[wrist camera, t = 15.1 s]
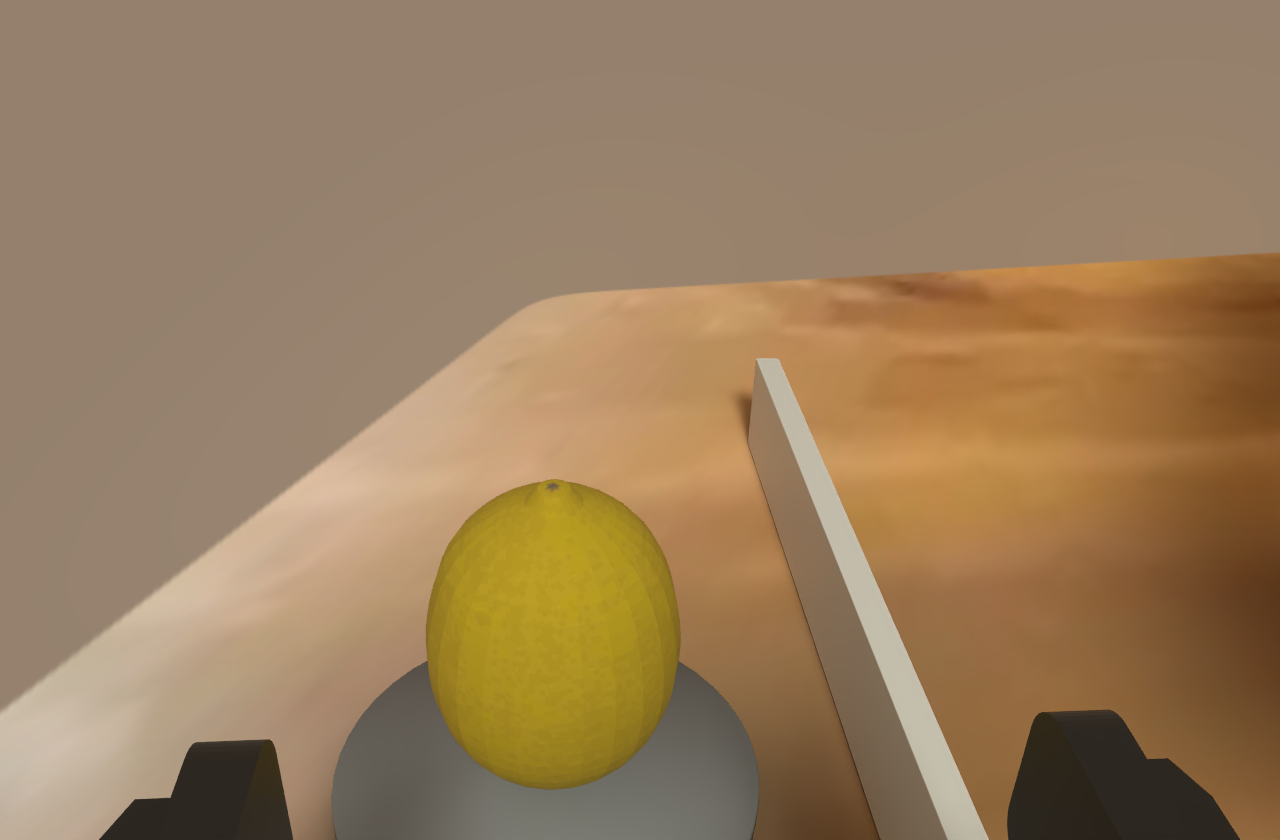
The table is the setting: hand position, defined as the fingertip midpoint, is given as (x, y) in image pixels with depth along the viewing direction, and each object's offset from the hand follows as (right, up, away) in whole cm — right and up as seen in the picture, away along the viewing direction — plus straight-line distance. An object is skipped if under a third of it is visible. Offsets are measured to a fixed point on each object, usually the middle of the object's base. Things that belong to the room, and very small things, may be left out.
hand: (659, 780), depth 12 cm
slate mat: (-2, -5, +15) cm, 16 cm away
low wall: (+5, -3, +19) cm, 20 cm away
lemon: (-2, -5, +15) cm, 16 cm away
